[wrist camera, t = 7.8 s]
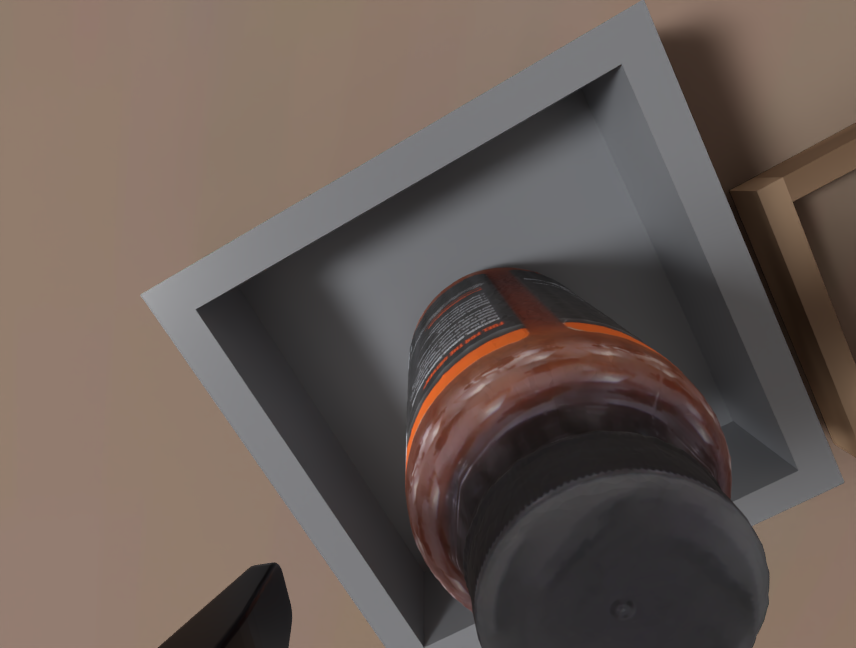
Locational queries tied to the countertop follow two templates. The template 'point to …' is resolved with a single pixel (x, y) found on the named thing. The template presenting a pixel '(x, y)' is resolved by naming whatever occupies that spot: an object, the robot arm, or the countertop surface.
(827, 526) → the countertop surface
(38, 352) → the countertop surface
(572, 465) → the supplement bottle
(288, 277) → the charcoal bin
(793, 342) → the tan wooden square frame
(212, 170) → the countertop surface
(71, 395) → the countertop surface
